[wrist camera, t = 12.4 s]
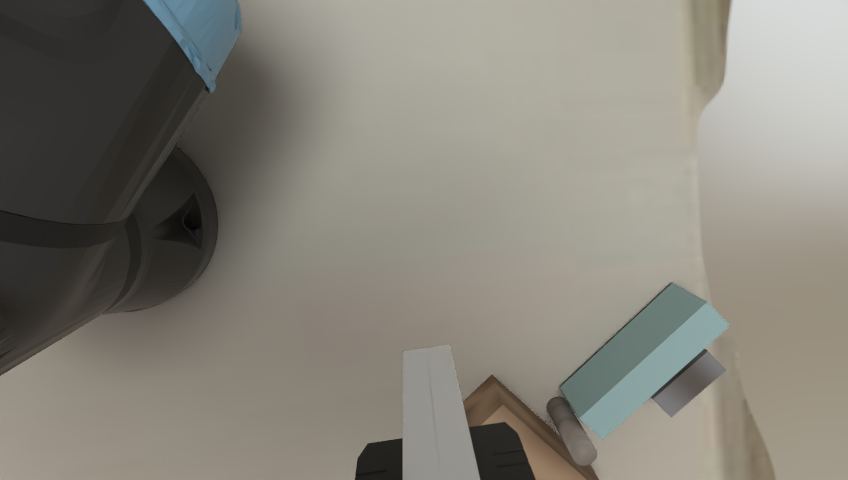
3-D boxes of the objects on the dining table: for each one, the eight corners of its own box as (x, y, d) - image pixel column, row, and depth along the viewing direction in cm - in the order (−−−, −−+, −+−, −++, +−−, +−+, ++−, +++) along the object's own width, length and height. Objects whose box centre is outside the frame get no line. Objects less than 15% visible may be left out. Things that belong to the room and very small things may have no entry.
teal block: (581, 406, 45) (602, 439, 40) (559, 387, 44) (579, 418, 39) (693, 304, 43) (730, 325, 38) (672, 282, 43) (707, 301, 38)
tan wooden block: (509, 532, 48) (527, 598, 41) (410, 451, 45) (411, 507, 39) (706, 361, 45) (761, 401, 38) (611, 262, 42) (652, 287, 35)
